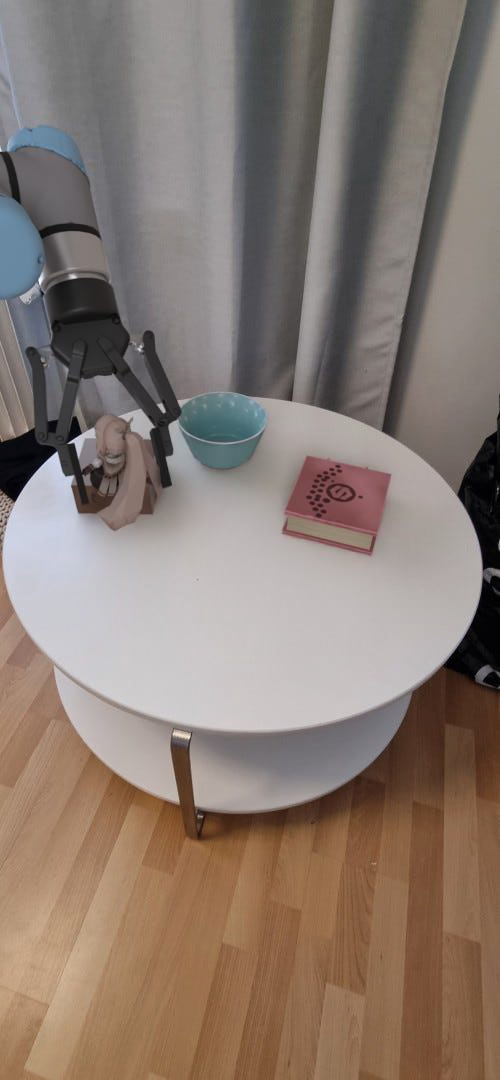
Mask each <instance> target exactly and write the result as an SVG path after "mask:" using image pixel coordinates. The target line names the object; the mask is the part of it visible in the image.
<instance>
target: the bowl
mask: <svg viewBox="0 0 500 1080" xmlns="http://www.w3.org/2000/svg"><path fill="white" fill-rule="evenodd" d="M180 408H181V411H182V413H181V415H180V417H179V418H178V419H177V420H176V424H177V426H178V428H179V430H180V433H181V434H182V437H183V439H184V441H185V443H186V445H187V447H188V448H189V451H190V453H191V454H192V457H194V459H195V460H196V461H198V462H199V463H201V464H202V465H204V466H207V467H209V468H211V469H218V470H227V469H232V468H236V467H239V466H241V465H243V464H245V463H246V462H248V461H249V460H250V459H251V458H252V456H254V453H255V451H256V449H257V447H258V445H259V443H260V441H261V439H262V437H263V436H264V434H265V433H264V432H265V431H266V428H267V426H268V424H269V423H268V422H269V414H268V412H267V409H266V408H265V407H264V406H263V405H262V404H261V403H260V402H259V401H258V400H256V399H254V398H252V397H250V396H248V395H245V394H241V393H237V392H233V391H232V392H231V391H211V392H205V393H202V394H199V395H196V396H193V397H190V398H189V399H188V400H186V401H185V402H183V403H182V404H181V405H180Z"/></svg>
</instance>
